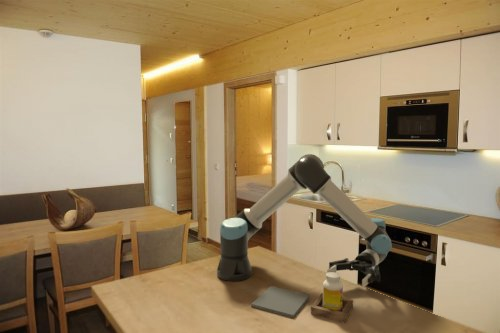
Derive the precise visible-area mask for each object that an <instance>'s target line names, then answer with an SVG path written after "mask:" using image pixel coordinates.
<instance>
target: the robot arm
mask: <svg viewBox="0 0 500 333" xmlns="http://www.w3.org/2000/svg"><path fill="white" fill-rule="evenodd" d="M307 189H308V190H309V191H310V192H311V193H312V194H313V195H318V196H319V197H320V198H321V199H322V200H323V201H324V202H326V204H328V206H329V207H330V208H332V209H333V210H334V211H335V213H337V215H339V216H340V217H341V218H342V219H343V220H344V221H345V222H346V223H347V224H348V225H349V226H350V227H351V228H352V229H353V230H355V232H356V233H357V234H358V235H359V236H361V237H362V238H363V240H364V241H365V242H366V243H365V244H366V246H365V247H366V249H365V250H364V251H362V252H361V253H359V254H358V255H356V257H355V258H354V260H349V258H348V257H347V258H344V259H343V258H342V259H340V260H334V261H330V262H329V263H328V269H326V274H327V273H328V272H335V273H337V271H346V270H347V271H348V270H349V271H358V272H361V273H363V274H364V275H365V276H364V278H362V280H361V287H362V288H365V287H366V286H367V285H368V284H372V283H373V282H375V281H376V282H378V283H381V273H380V266H379V264H380V263H382V262H383V261H385V259H386V257H387V255H388V253H389V252H390V251H391V250H392V247H393V246H392V240H391V238H390V236H389V235H388V233H387V231H386V220H384V219H382V218H379V217H378V218H377V217H369V216H368V215H367V214H366V213H365V212H364V211H363V210H362V209H361V208H360V207H359V206H358V205H357V204H356V203H355V202H354V201H353V200H352V199H351V198H350V197H349V196H348V195H346V194H345V192H344V191H342V189H340V187H338V186H337V185H336V184H335V183H334V182H333V181H332V177H331V175H329V174H328V172H327V171H326V170H325V168H324V162H323V161H322V160H321V158H319V157H318V155H315V154H312V153H311V154H310V153H309V154H308V153H307V154H304V155H302V156H301V157H299V159H298V160H297V161H296V162H295V163H294V164H293V165H292V166H290V168H288V169H287V174H286V176H284V177H283V178H282V179H281V180H280V181H279V182H278V183H277V184H276V185H274V186H273V187H272V188H271V189H270V190H269V191H268V192H267V193H265V195H263V196H262V197H261V198H260V199H259V200H258V201H257V202H255V203H254V204H253V205H252V206H250V208H244V209H243V210H242V211H241V212H239V213H238V214H236V215H235V216H234V217H231V218H227V219H224V220H223V221H222V222H221V223H220V228H219V233H220V234H219V235H220V238H219V239H220V243H219V244H220V259H219V261H218V266H217V268H216V276H217V277H218V278H219V279H221V280H223V281H228V282H239V281H245V280H247V279H249V278H250V277H252V275H253V268H252V265H251V262H250V259H249V256H248V254H249V252H248V249H249V248H248V245H249V243H248V242H249V240H250V239H251V237H252V236H254V235H255V234H256V233H258V231H259V230H261V228H262V227H263V222H264V221H266V220H267V219H268V218H269V217H270V216H272V215H273V214H274V213H275V212H276V211H277V210H279V208H281V207H282V206H283V205H284V204H285V203H286V202H288V201H289V200H290V199H291V198H293V196H295V195H296V194H297V193H298V192H299V191H300V190H307Z"/></svg>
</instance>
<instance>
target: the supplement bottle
mask: <svg viewBox="0 0 500 333" xmlns="http://www.w3.org/2000/svg"><path fill="white" fill-rule="evenodd" d="M325 278H326V279H325V280H324V281H323V283H322V293H323V304H322V307H323V308H327V309H331V310H335V311H339V312H342V311H343V306H342V300H343V298H344V297H343V294H344V292H343V291H344V290H343V287H344V286H343V283H342V281H341V280H340V279H341V275H340V273H339V272H338V273H337V272H336V273H335V272H328V273H327V272H326V274H325Z"/></svg>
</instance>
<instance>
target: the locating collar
mask: <svg viewBox="0 0 500 333" xmlns="http://www.w3.org/2000/svg"><path fill="white" fill-rule="evenodd" d="M343 307H344V308H343ZM353 308H354V299H351V298H345V297H343V300H342V312H339V311H335V310H331V309H327V308H323V292H321V293H320V294H319V296H318V297H317V298H316V299H315V301H314V302H313V304H312V305H311V307H310V314H311V315H313V316H318V317H321V318H325V319H329V320H333V321H336V322H340V323H345V324H346V321H347V319H348V318H349V315H350V314H351V312H352V310H353Z"/></svg>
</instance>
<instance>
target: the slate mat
mask: <svg viewBox="0 0 500 333" xmlns="http://www.w3.org/2000/svg"><path fill="white" fill-rule="evenodd" d="M310 296H311V295H310V294H307V293H302V292H298V291H294V290H289V289H285V288H281V287H277V286H273V285H270V286H269V287H268V288H267V289H266V290H265V291H263V292H262V293H261V294H260V295H259V296H258V297H257V298H256V299H255V300H254V301H252V302H251V305H250V306H251V307H252V308H255V309H259V310H262V311H266V312H270V313H273V314H274V313H275V314H277V315H278V314H279V315H281V316H284V317H288V318H292V319H294V318H295V317H296V316H297V314H298V313H299V312H300V311H301V309H302V308H303V306H304V305H305V304H306V303H307V302H308V301H309V299H310V298H311V297H310Z"/></svg>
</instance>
